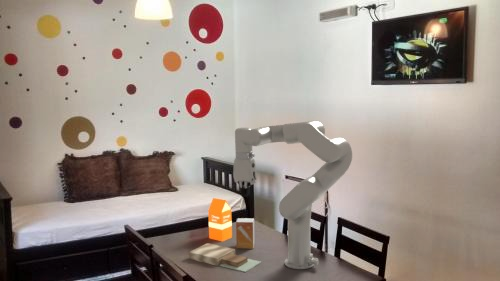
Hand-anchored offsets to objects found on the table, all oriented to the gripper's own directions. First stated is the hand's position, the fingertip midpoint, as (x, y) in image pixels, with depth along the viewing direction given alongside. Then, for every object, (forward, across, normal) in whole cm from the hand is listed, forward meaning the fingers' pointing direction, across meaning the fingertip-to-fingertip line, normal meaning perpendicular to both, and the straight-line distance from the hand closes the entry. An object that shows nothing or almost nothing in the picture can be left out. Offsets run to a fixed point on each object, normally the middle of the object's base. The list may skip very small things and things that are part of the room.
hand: (245, 196), depth 211 cm
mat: (+27, -4, +11) cm, 30 cm away
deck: (+27, +11, +11) cm, 31 cm away
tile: (+27, -2, +12) cm, 29 cm away
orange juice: (+27, +24, -12) cm, 38 cm away
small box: (+27, +6, -8) cm, 29 cm away
